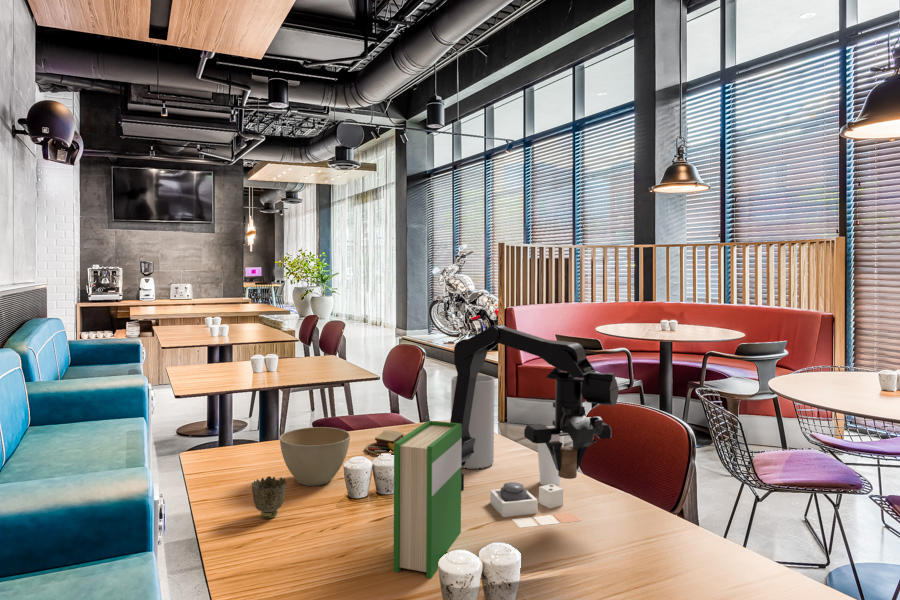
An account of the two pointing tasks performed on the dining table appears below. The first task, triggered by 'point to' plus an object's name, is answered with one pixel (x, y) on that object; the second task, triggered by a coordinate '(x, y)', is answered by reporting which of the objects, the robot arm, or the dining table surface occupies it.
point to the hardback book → (427, 495)
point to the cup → (268, 495)
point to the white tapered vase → (548, 464)
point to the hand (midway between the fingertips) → (567, 469)
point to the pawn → (568, 463)
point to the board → (526, 511)
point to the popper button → (513, 492)
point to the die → (551, 496)
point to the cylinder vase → (480, 422)
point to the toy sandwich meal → (384, 442)
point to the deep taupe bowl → (314, 453)
